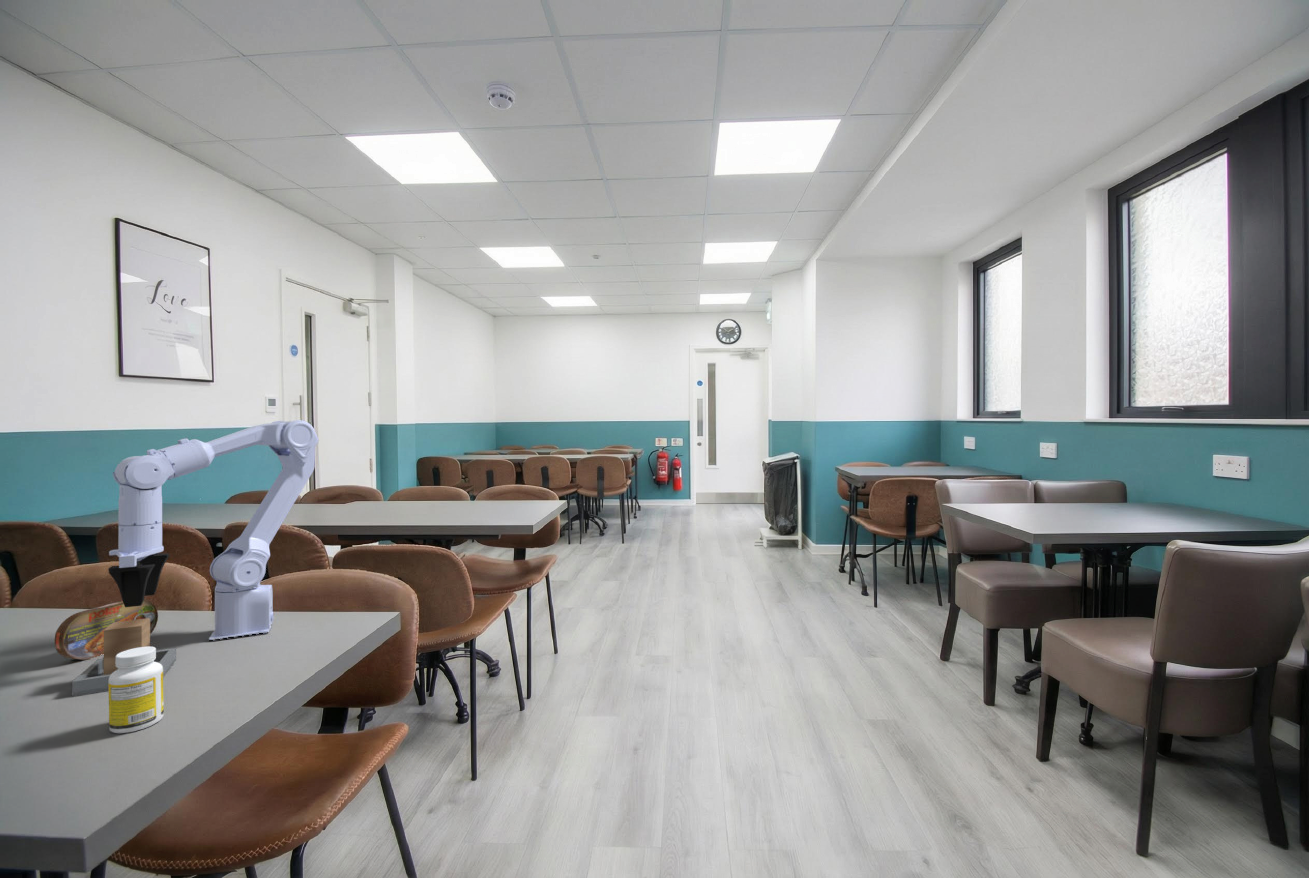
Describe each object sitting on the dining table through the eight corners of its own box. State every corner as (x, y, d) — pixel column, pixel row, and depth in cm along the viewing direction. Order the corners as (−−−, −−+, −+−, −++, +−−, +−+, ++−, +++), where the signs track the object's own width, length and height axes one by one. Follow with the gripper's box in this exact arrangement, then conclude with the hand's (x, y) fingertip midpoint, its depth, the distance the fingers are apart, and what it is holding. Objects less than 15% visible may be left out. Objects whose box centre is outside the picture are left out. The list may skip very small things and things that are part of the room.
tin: (64, 667, 94) (64, 617, 94) (50, 665, 95) (50, 616, 95) (159, 636, 109) (159, 593, 109) (146, 635, 110) (146, 592, 110)
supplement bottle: (132, 715, 78) (132, 644, 78) (173, 713, 78) (173, 643, 78) (96, 735, 72) (96, 659, 72) (141, 733, 73) (141, 658, 73)
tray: (176, 660, 97) (176, 647, 97) (159, 682, 88) (159, 668, 88) (97, 672, 92) (97, 658, 92) (72, 696, 83) (72, 681, 83)
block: (149, 665, 93) (150, 617, 93) (141, 675, 89) (141, 625, 89) (113, 671, 91) (113, 622, 91) (103, 681, 87) (103, 630, 87)
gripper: (124, 520, 103) (124, 593, 103) (94, 531, 91) (93, 614, 91) (173, 517, 107) (173, 588, 107) (151, 527, 94) (151, 608, 94)
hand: (140, 600), depth 99 cm, fingers open, 7 cm apart
